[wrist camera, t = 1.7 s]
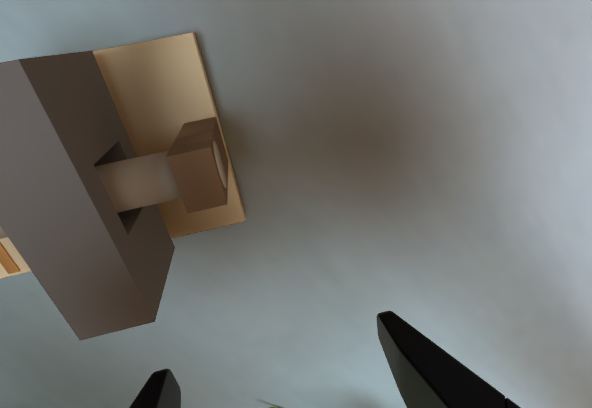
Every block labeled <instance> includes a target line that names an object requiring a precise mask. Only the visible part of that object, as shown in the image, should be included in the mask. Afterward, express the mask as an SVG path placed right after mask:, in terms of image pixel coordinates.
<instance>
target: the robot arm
mask: <svg viewBox="0 0 592 408" xmlns="http://www.w3.org/2000/svg"><path fill="white" fill-rule="evenodd" d="M377 328H378V336H379V340H380V343H381V345H382V348H383V351H384V353H385V356H386V358H387V361H388V363H389V366H390V369H391V371H392V374H393V376H394V379H395V382H396V384H397V387H398V389H399V391H400V394H401V396H402V398H403V400H404V402H405V404H406V406H407V408H520V407H519V406H518V405H516V404H515V403H514V402H512V401H511V400H510V399H508V398H506V399H505V396H504V395H503V394H502V393H500V392H499V391H498V390H496V389H495V388H494V387H492V386H491V385H490V384H488V383H487V382H485V381H484V380H483V379H481V378H480V377H479V376H477V375H476V374H475V373H473V372H472V371H471V370H469V369H468V368H467V367H465V366H464V365H463V364H461V363H460V362H459V361H457V360H456V359H455V358H453V357H452V356H451V355H449V354H448V353H447V352H445V351H444V350H443V349H441V348H440V347H439V346H437V345H436V344H435V343H433V342H432V341H431V340H429V339H428V338H427V337H425V336H424V335H423V334H421V333H420V332H419V331H417V330H416V329H415V328H413V327H412V326H411V325H409V324H408V323H407V322H405V321H404V320H403V319H401V318H400V317H399V316H397V315H396V314H395V313H393V312H392V311H386V312H382V313H379V314H377ZM129 408H181V391H180V387H179V385H178V383H177V381H176V379H175V377H174V375H173V374H172V372H171V370H170V369H164V370H160V371H156V372H154V373H153V374H152V375H151V376H150V378H149V379H148V381H147V382H146V384H145V385H144V387H143V388H142V390H141V391H140V393H139V394H138V396H137V397H136V399H135V400H134V402H133V403H132V404H131V406H130V407H129Z"/></svg>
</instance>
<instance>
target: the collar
mask: <svg viewBox="0 0 592 408" xmlns="http://www.w3.org/2000/svg"><path fill="white" fill-rule="evenodd" d="M136 157H137V156H136V154H135V152H134V149H133V147H132V145H131V142H130V140H129V137H128V135H127V133H126V130H125V128H124V125H123V123H122V121H121V118H120V116H119V113H118V111H117V109H116V106H115V104H114V102H113V99H112V97H111V94H110V92H109V90H108V87H107V85H106V82H105V80H104V78H103V75H102V73H101V71H100V68H99V66H98V63H97V61H96V59H95V56H94V54H93V51H86V52H78V53H69V54H61V55H52V56H44V57H35V58H26V59H18V60H13V61H7V62H2V63H0V226H1V228H2V229H3V231H4V232H5V234H6V235H7V236H8V238H9V239H10V241H11V242H12V244H13V245H14V246H15V248H16V249H17V251H18V252H19V254H20V255H21V256H22V258H23V259H24V261H25V262H26V264H27V265H28V267H29V268H30V269H31V271H32V272H33V274H34V275H35V277H36V278H37V279H38V281H39V282H40V284H41V285H42V287H43V288H44V290H45V291H46V292H47V294H48V295H49V297H50V298H51V300H52V301H53V302H54V304H55V305H56V307H57V308H58V310H59V311H60V312H61V314H62V315H63V317H64V318H65V320H66V321H67V323H68V324H69V325H70V327H71V328H72V330H73V331H74V333H75V334H76V335H77V337H78V338H79V340H83V339H87V338H91V337H95V336H99V335H103V334H107V333H111V332H115V331H119V330H123V329H127V328H131V327H135V326H139V325H143V324H147V323H151V322H155V319H156V315H157V311H158V308H159V304H160V300H161V297H162V293H163V289H164V285H165V282H166V278H167V274H168V271H169V267H170V263H171V259H172V256H173V252H174V248H175V247H174V245H173V242H172V240H171V238H170V235H169V233H168V230H167V228H166V226H165V223H164V221H163V219H162V216H161V214H160V211H159V209H158V207H157V204H153V205H149V206H144V207H140V208H135V209H131V210H126V211H122V212H118V213H117V212H116V210H115V208H114V205H113V203H112V201H111V199H110V197H109V195H108V193H107V191H106V189H105V187H104V185H103V183H102V181H101V179H100V177H99V175H98V173H97V171H96V169H95V167H94V166H99V165H104V164H108V163H113V162H118V161H122V160H127V159H132V158H136Z"/></svg>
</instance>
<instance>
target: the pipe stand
mask: <svg viewBox="0 0 592 408" xmlns="http://www.w3.org/2000/svg"><path fill="white" fill-rule="evenodd" d="M93 54H94V56H95V59H96V61H97V63H98V66H99V68H100V71H101V73H102V75H103V78H104V80H105V82H106V85H107V87H108V90H109V92H110V94H111V97H112V99H113V102H114V104H115V106H116V109H117V111H118V113H119V116H120V118H121V121H122V123H123V125H124V128H125V130H126V133H127V135H128V137H129V140H130V142H131V145H132V147H133V149H134V152H135V154H136V156H137V157H136V158H132V159H127V160H122V161H118V162H113V163H108V164H104V165H99V166H94V167H95V169H96V171H97V173H98V175H99V177H100V179H101V181H102V183H103V185H104V187H105V189H106V191H107V193H108V195H109V197H110V199H111V201H112V203H113V205H114V208H115V210H116V212H117V213H118V212H122V211H126V210H131V209H135V208H140V207H144V206H149V205H153V204H157V207H158V209H159V211H160V214H161V216H162V219H163V221H164V223H165V226H166V228H167V230H168V233H169V235H170V238H175V237H179V236H184V235H188V234H192V233H197V232H201V231H205V230H209V229H214V228H218V227H222V226H226V225H231V224H235V223H239V222H244V221H245V211H244V207H243V203H242V200H241V196H240V193H239V189H238V186H237V182H236V178H235V175H234V171H233V168H232V164H231V161H230V157H229V153H228V150H227V146H226V143H225V139H224V135H223V132H222V128H221V125H220V121H219V118H218V114H217V110H216V107H215V103H214V100H213V96H212V92H211V89H210V85H209V82H208V78H207V75H206V71H205V67H204V64H203V60H202V57H201V53H200V50H199V46H198V42H197V39H196V35H195V33H193V32H192V33H187V34H181V35H176V36H171V37H166V38H160V39H155V40H150V41H145V42H139V43H134V44H129V45H124V46H118V47H113V48H108V49H103V50H97V51H93ZM30 271H31V269H30V268H29V267H28V265H27V264H26V262H25V261H24V259H23V258H22V256H21V255H20V254H19V252H18V251H17V249H16V248H15V246H14V245H13V244H12V242H11V241H10V239H9V238H8V236H7V235H6V234H5V232H4V231H3V229H2V228H1V226H0V278H4V277H8V276H13V275H17V274H21V273H25V272H30Z"/></svg>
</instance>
